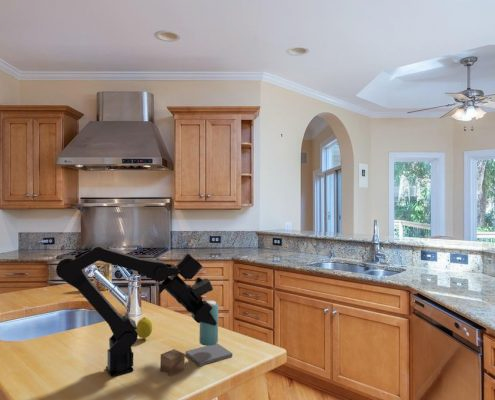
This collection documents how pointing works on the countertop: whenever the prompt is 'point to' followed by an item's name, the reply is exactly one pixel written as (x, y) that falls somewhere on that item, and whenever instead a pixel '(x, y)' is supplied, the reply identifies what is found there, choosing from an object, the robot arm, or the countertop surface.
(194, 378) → the countertop surface
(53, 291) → the countertop surface
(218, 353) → the slate coaster
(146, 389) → the countertop surface
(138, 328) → the lemon
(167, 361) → the walnut block
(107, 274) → the candy box
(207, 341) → the spice jar
